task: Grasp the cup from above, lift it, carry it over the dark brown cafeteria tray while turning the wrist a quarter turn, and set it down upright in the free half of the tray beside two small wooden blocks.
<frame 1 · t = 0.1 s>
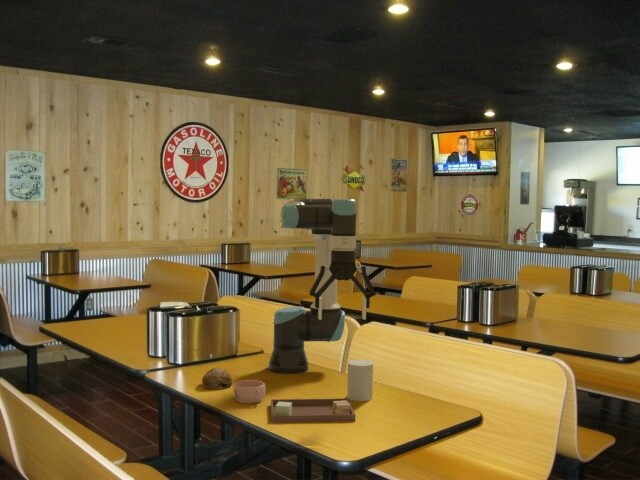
hand: (341, 318, 204), 28 cm above the table, fingers open, 13 cm apart
maple block: (341, 416, 196), point 1 cm above the table, touching tray
sage block: (283, 417, 194), point 1 cm above the table, touching tray
mug: (251, 403, 210), on the table
tray: (311, 414, 199), on the table
cup: (359, 399, 216), on the table
bread roll: (216, 386, 229), on the table
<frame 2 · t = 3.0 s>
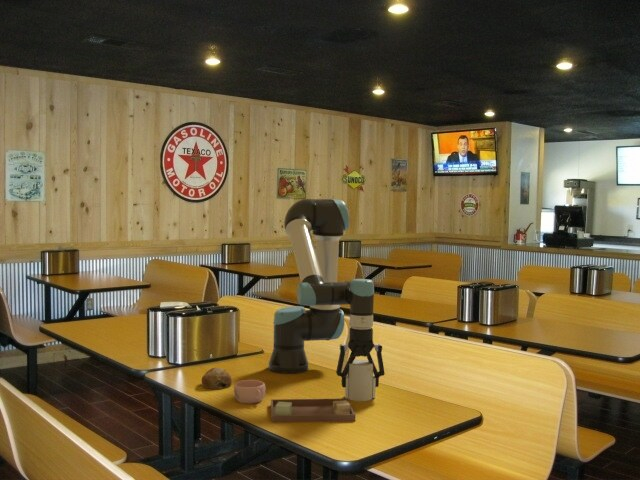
hand: (359, 396, 216), 1 cm above the table, fingers closed on cup, 8 cm apart
cup: (359, 399, 216), on the table, touching gripper
everything else where it was.
when the fingers open (3 cm above the table, at t = 8.4 s): cup drops 2 cm, resting on tray.
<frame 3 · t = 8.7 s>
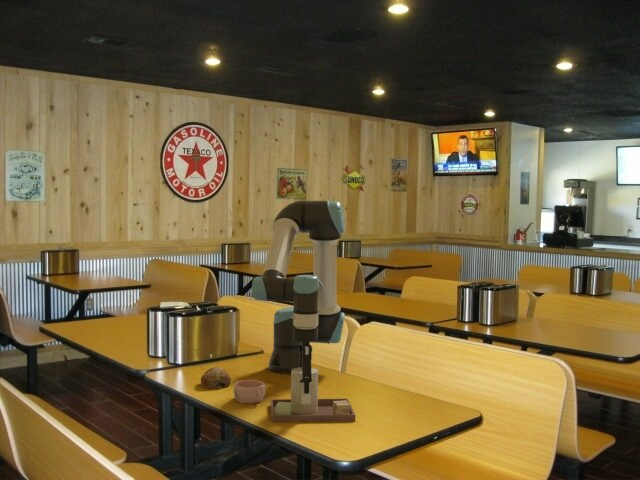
hand: (304, 397, 202), 4 cm above the table, fingers open, 12 cm apart
cup: (304, 410, 202), resting on tray
everything else where it was.
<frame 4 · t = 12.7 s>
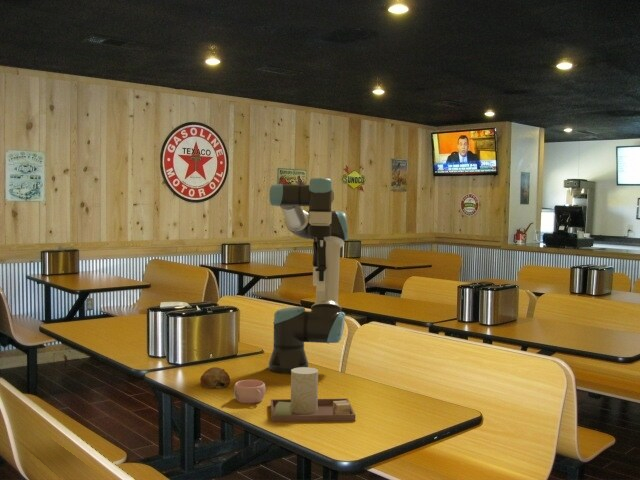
hand: (318, 288, 222), 35 cm above the table, fingers open, 13 cm apart
at the end: cup inside the target area on the tray (3.7 cm from its centre), point 0.4 cm above the tray's base; cup tilted 0°; the gripper is holding nothing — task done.
